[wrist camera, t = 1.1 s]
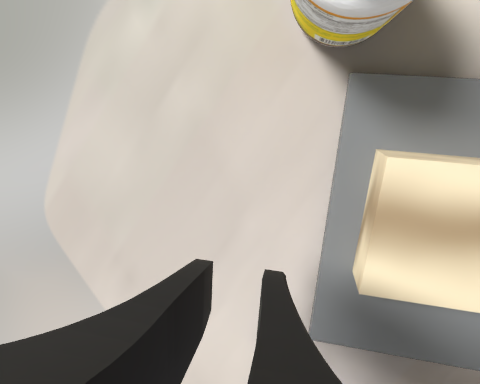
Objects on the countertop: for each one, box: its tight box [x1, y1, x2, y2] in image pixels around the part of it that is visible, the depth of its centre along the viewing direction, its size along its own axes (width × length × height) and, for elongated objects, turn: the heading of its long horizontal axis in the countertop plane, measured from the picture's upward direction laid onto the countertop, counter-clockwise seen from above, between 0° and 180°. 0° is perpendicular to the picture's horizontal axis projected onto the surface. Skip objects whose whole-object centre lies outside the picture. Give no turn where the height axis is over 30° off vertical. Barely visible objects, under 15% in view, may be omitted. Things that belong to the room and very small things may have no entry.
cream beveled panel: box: [352, 149, 480, 313], centre depth 17 cm, size 8×8×2 cm
